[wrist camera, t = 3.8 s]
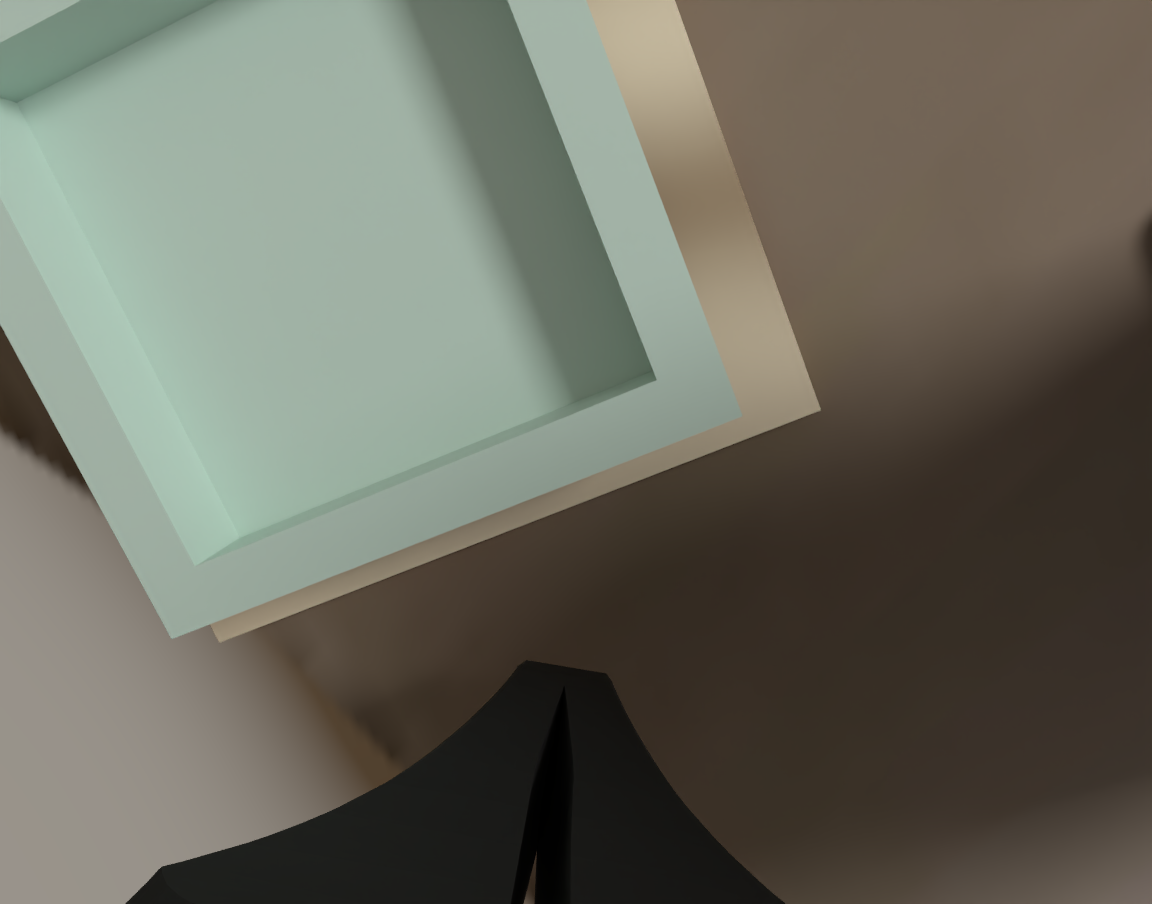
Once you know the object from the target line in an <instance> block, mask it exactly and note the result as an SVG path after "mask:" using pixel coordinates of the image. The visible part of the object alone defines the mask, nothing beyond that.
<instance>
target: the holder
mask: <svg viewBox="0 0 1152 904" xmlns="http://www.w3.org/2000/svg"><path fill="white" fill-rule="evenodd" d="M0 325H1V327H2V329H3V330H4V332H5V334H6V336H7V338H8V340H9V341H10V343H11V345H12V347H13V349H14V351H15V352H16V354H17V356H18V358H19V360H20V362H21V363H22V365H23V367H24V369H25V371H26V373H27V374H28V376H29V378H30V380H31V382H32V384H33V386H34V387H35V389H36V391H37V393H38V395H39V397H40V398H41V400H42V402H43V404H44V406H45V408H46V409H47V411H48V413H49V415H50V417H51V419H52V420H53V422H54V424H55V426H56V428H57V430H58V431H59V433H60V435H61V437H62V439H63V441H64V443H65V444H66V446H67V448H68V450H69V452H70V454H71V455H72V457H73V459H74V461H75V463H76V465H77V466H78V468H79V470H80V472H81V474H82V476H83V477H84V479H85V481H86V483H87V485H88V487H89V488H90V490H91V492H92V494H93V496H94V498H95V500H96V501H97V503H98V505H99V507H100V509H101V511H102V512H103V514H104V516H105V518H106V520H107V522H108V523H109V525H110V527H111V529H112V531H113V533H114V534H115V536H116V538H117V540H118V542H119V544H120V545H121V547H122V549H123V551H124V553H125V555H126V556H127V558H128V560H129V562H130V564H131V566H132V567H133V569H134V571H135V573H136V575H137V577H138V578H139V580H140V582H141V584H142V586H143V588H144V590H145V591H146V593H147V595H148V597H149V599H150V601H151V602H152V604H153V606H154V608H155V610H156V612H157V613H158V615H159V617H160V619H161V621H162V623H163V625H164V626H165V628H166V630H167V632H168V634H169V635H170V637H171V639H174V638H176V637H179V636H181V635H184V634H186V633H189V632H192V631H194V630H197V629H199V628H201V627H204V626H207V625H210V624H212V623H215V622H217V621H220V620H222V619H225V618H228V617H230V616H233V615H235V614H238V613H240V612H243V611H245V610H248V609H251V608H253V607H256V606H258V605H261V604H263V603H266V602H268V601H271V600H274V599H276V598H279V597H281V596H284V595H286V594H289V593H291V592H294V591H297V590H299V589H302V588H304V587H307V586H309V585H312V584H315V583H317V582H320V581H322V580H325V579H327V578H330V577H332V576H335V575H338V574H340V573H343V572H345V571H348V570H350V569H353V568H355V567H358V566H361V565H363V564H366V563H368V562H371V561H373V560H376V559H379V558H381V557H384V556H386V555H389V554H391V553H394V552H396V551H399V550H402V549H404V548H407V547H409V546H412V545H414V544H417V543H419V542H422V541H425V540H427V539H430V538H432V537H435V536H437V535H440V534H442V533H445V532H448V531H450V530H453V529H455V528H458V527H460V526H463V525H466V524H468V523H471V522H473V521H476V520H478V519H481V518H483V517H486V516H489V515H491V514H494V513H496V512H499V511H501V510H504V509H506V508H509V507H512V506H514V505H517V504H519V503H522V502H524V501H527V500H530V499H532V498H535V497H537V496H540V495H542V494H545V493H547V492H550V491H553V490H555V489H558V488H560V487H563V486H565V485H568V484H570V483H573V482H576V481H578V480H581V479H583V478H586V477H588V476H591V475H593V474H596V473H599V472H601V471H604V470H606V469H609V468H611V467H614V466H617V465H619V464H622V463H624V462H627V461H629V460H632V459H634V458H637V457H640V456H642V455H645V454H647V453H650V452H652V451H655V450H657V449H660V448H663V447H665V446H668V445H670V444H673V443H675V442H678V441H680V440H683V439H686V438H688V437H691V436H693V435H696V434H698V433H701V432H704V431H706V430H709V429H711V428H714V427H716V426H719V425H721V424H724V423H727V422H729V421H732V420H734V419H737V418H739V417H742V413H741V410H740V408H739V405H738V402H737V400H736V397H735V394H734V392H733V389H732V386H731V384H730V381H729V379H728V376H727V373H726V371H725V368H724V365H723V363H722V360H721V357H720V355H719V352H718V349H717V347H716V344H715V341H714V339H713V336H712V333H711V331H710V328H709V325H708V323H707V320H706V317H705V315H704V312H703V309H702V307H701V304H700V301H699V299H698V296H697V293H696V291H695V288H694V285H693V283H692V280H691V278H690V275H689V272H688V270H687V267H686V264H685V262H684V259H683V256H682V254H681V251H680V248H679V246H678V243H677V240H676V238H675V235H674V232H673V230H672V227H671V224H670V222H669V219H668V216H667V214H666V211H665V208H664V206H663V203H662V200H661V198H660V195H659V192H658V190H657V187H656V184H655V182H654V179H653V176H652V174H651V171H650V169H649V166H648V163H647V161H646V158H645V155H644V153H643V150H642V147H641V145H640V142H639V139H638V137H637V134H636V131H635V129H634V126H633V123H632V121H631V118H630V115H629V113H628V110H627V107H626V105H625V102H624V99H623V97H622V94H621V91H620V89H619V86H618V83H617V81H616V78H615V75H614V73H613V70H612V68H611V65H610V62H609V60H608V57H607V54H606V52H605V49H604V46H603V44H602V41H601V38H600V36H599V33H598V30H597V28H596V25H595V22H594V20H593V17H592V14H591V12H590V9H589V6H588V4H587V1H586V0H0Z"/></svg>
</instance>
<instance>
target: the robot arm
mask: <svg viewBox="0 0 1152 904" xmlns="http://www.w3.org/2000/svg"><path fill="white" fill-rule="evenodd" d="M536 852H537V861H536V884H535V904H785V903H784V902H783V901H781V900H780V899H779V898H778V897H777V896H775V895H774V894H773V893H772V892H771V891H770V890H768V889H767V888H766V887H765V886H764V885H763V884H761V883H760V882H759V881H758V880H757V879H756V878H755V877H754V876H753V875H752V874H751V873H750V872H749V871H748V870H746V869H745V868H744V867H743V866H742V865H741V864H740V863H739V862H738V861H737V860H736V859H735V858H734V857H733V856H732V855H730V854H729V853H728V852H727V850H726V849H725V848H724V847H723V846H722V845H721V844H720V843H719V842H718V841H717V840H716V839H715V838H714V837H713V836H712V835H711V834H710V833H709V832H708V830H707V829H706V828H705V827H704V826H703V825H702V824H701V822H700V821H699V820H698V819H697V818H696V817H695V816H694V814H693V813H692V812H691V811H690V810H689V809H688V808H687V806H686V805H685V804H684V803H683V801H682V800H681V799H680V798H679V796H678V795H677V794H676V792H675V791H674V790H673V788H672V787H671V785H670V784H669V783H668V781H667V780H666V778H665V777H664V775H663V774H662V773H661V771H660V770H659V768H658V766H657V765H656V763H655V762H654V760H653V759H652V757H651V755H650V754H649V752H648V750H647V749H646V747H645V745H644V744H643V742H642V740H641V739H640V737H639V735H638V734H637V732H636V730H635V728H634V727H633V725H632V723H631V721H630V719H629V717H628V715H627V713H626V711H625V709H624V707H623V705H622V703H621V701H620V699H619V697H618V695H617V692H616V690H615V688H614V685H613V683H612V681H611V680H610V678H609V677H608V675H607V674H605V673H599V672H593V671H587V670H582V669H576V668H570V667H564V666H558V665H552V664H546V663H540V662H534V661H528V660H526V661H525V662H523V663H522V664H520V665H519V666H518V667H517V668H516V670H515V671H514V673H513V674H512V675H511V677H510V678H509V679H508V680H507V681H506V683H505V684H504V685H503V686H502V687H501V688H500V689H499V690H498V692H497V693H496V694H495V695H494V696H493V697H492V698H491V699H490V700H489V701H488V702H487V703H486V704H485V705H484V706H483V707H482V708H481V709H480V710H479V711H478V712H477V713H476V714H475V715H474V716H473V717H472V718H471V719H470V720H469V721H468V722H466V723H465V724H464V725H463V726H462V727H461V728H460V729H458V730H457V731H456V732H455V733H454V734H452V735H451V736H450V737H449V738H448V739H446V740H445V741H444V742H443V743H442V744H440V745H439V746H438V747H437V748H436V749H434V750H433V751H432V752H430V753H429V754H428V755H426V756H425V757H424V758H422V759H421V760H419V761H418V762H417V763H415V764H414V765H412V766H411V767H409V768H408V769H406V770H405V771H403V772H402V773H400V774H399V775H397V776H396V777H394V778H393V779H391V780H389V781H388V782H386V783H385V784H383V785H381V786H379V787H377V788H375V789H373V790H371V791H369V792H367V793H365V794H363V795H362V796H359V797H357V798H356V799H354V800H352V801H350V802H348V803H346V804H344V805H342V806H340V807H338V808H336V809H334V810H332V811H330V812H327V813H325V814H323V815H320V816H318V817H316V818H313V819H311V820H308V821H306V822H304V823H301V824H299V825H296V826H293V827H291V828H288V829H285V830H283V831H280V832H277V833H275V834H272V835H269V836H267V837H264V838H261V839H258V840H255V841H252V842H249V843H246V844H242V845H239V846H235V847H232V848H228V849H225V850H221V851H218V852H214V853H211V854H207V855H204V856H200V857H197V858H193V859H190V860H186V861H183V862H179V863H175V864H171V865H167V866H163V867H161V868H160V869H159V870H158V871H157V872H156V873H155V874H154V875H153V877H152V878H151V879H150V880H149V881H148V882H147V883H146V884H145V885H144V886H143V887H142V888H141V889H140V890H139V891H138V892H137V893H136V894H135V895H134V896H133V897H132V898H131V899H130V900H129V901H128V902H127V903H126V904H523V903H524V899H525V895H526V891H527V888H528V884H529V880H530V876H531V872H532V868H533V864H534V860H535V856H536Z"/></svg>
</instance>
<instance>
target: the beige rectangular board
mask: <svg viewBox="0 0 1152 904" xmlns="http://www.w3.org/2000/svg"><path fill="white" fill-rule="evenodd" d="M586 1H587V4H588V6H589V9H590V12H591V14H592V17H593V20H594V22H595V25H596V28H597V30H598V33H599V36H600V38H601V41H602V44H603V46H604V49H605V52H606V54H607V57H608V60H609V62H610V65H611V68H612V70H613V73H614V75H615V78H616V81H617V83H618V86H619V89H620V91H621V94H622V97H623V99H624V102H625V105H626V107H627V110H628V113H629V115H630V118H631V121H632V123H633V126H634V129H635V131H636V134H637V137H638V139H639V142H640V145H641V147H642V150H643V153H644V155H645V158H646V161H647V163H648V166H649V169H650V171H651V174H652V176H653V179H654V182H655V184H656V187H657V190H658V192H659V195H660V198H661V200H662V203H663V206H664V208H665V211H666V214H667V216H668V219H669V222H670V224H671V227H672V230H673V232H674V235H675V238H676V240H677V243H678V246H679V248H680V251H681V254H682V256H683V259H684V262H685V264H686V267H687V270H688V272H689V275H690V278H691V280H692V283H693V285H694V288H695V291H696V293H697V296H698V299H699V301H700V304H701V307H702V309H703V312H704V315H705V317H706V320H707V323H708V325H709V328H710V331H711V333H712V336H713V339H714V341H715V344H716V347H717V349H718V352H719V355H720V357H721V360H722V363H723V365H724V368H725V371H726V373H727V376H728V379H729V381H730V384H731V386H732V389H733V392H734V394H735V397H736V400H737V402H738V405H739V408H740V410H741V413H742V417H739V418H737V419H734V420H732V421H729V422H727V423H724V424H721V425H719V426H716V427H714V428H711V429H709V430H706V431H704V432H701V433H698V434H696V435H693V436H691V437H688V438H686V439H683V440H680V441H678V442H675V443H673V444H670V445H668V446H665V447H663V448H660V449H657V450H655V451H652V452H650V453H647V454H645V455H642V456H640V457H637V458H634V459H632V460H629V461H627V462H624V463H622V464H619V465H617V466H614V467H611V468H609V469H606V470H604V471H601V472H599V473H596V474H593V475H591V476H588V477H586V478H583V479H581V480H578V481H576V482H573V483H570V484H568V485H565V486H563V487H560V488H558V489H555V490H553V491H550V492H547V493H545V494H542V495H540V496H537V497H535V498H532V499H530V500H527V501H524V502H522V503H519V504H517V505H514V506H512V507H509V508H506V509H504V510H501V511H499V512H496V513H494V514H491V515H489V516H486V517H483V518H481V519H478V520H476V521H473V522H471V523H468V524H466V525H463V526H460V527H458V528H455V529H453V530H450V531H448V532H445V533H442V534H440V535H437V536H435V537H432V538H430V539H427V540H425V541H422V542H419V543H417V544H414V545H412V546H409V547H407V548H404V549H402V550H399V551H396V552H394V553H391V554H389V555H386V556H384V557H381V558H379V559H376V560H373V561H371V562H368V563H366V564H363V565H361V566H358V567H355V568H353V569H350V570H348V571H345V572H343V573H340V574H338V575H335V576H332V577H330V578H327V579H325V580H322V581H320V582H317V583H315V584H312V585H309V586H307V587H304V588H302V589H299V590H297V591H294V592H291V593H289V594H286V595H284V596H281V597H279V598H276V599H274V600H271V601H268V602H266V603H263V604H261V605H258V606H256V607H253V608H251V609H248V610H245V611H243V612H240V613H238V614H235V615H233V616H230V617H228V618H225V619H222V620H220V621H217V622H215V623H212V624H210V626H211V628H212V630H213V632H214V634H215V636H216V638H217V639H218V641H219V642H223V641H225V640H228V639H230V638H233V637H235V636H238V635H241V634H243V633H246V632H249V631H251V630H254V629H256V628H259V627H261V626H264V625H267V624H269V623H272V622H274V621H277V620H280V619H282V618H285V617H287V616H290V615H293V614H295V613H298V612H300V611H303V610H305V609H308V608H311V607H313V606H316V605H318V604H321V603H324V602H326V601H329V600H331V599H334V598H336V597H339V596H342V595H344V594H347V593H349V592H352V591H355V590H357V589H360V588H362V587H365V586H368V585H370V584H373V583H375V582H378V581H380V580H383V579H386V578H388V577H391V576H393V575H396V574H399V573H401V572H404V571H406V570H409V569H412V568H414V567H417V566H419V565H422V564H424V563H427V562H430V561H432V560H435V559H437V558H440V557H443V556H445V555H448V554H450V553H453V552H456V551H458V550H461V549H463V548H466V547H468V546H471V545H474V544H476V543H479V542H481V541H484V540H487V539H489V538H492V537H494V536H497V535H499V534H502V533H505V532H507V531H510V530H512V529H515V528H518V527H520V526H523V525H525V524H528V523H531V522H533V521H536V520H538V519H541V518H543V517H546V516H549V515H551V514H554V513H556V512H559V511H562V510H564V509H567V508H569V507H572V506H575V505H577V504H580V503H582V502H585V501H587V500H590V499H593V498H595V497H598V496H600V495H603V494H606V493H608V492H611V491H613V490H616V489H619V488H621V487H624V486H626V485H629V484H631V483H634V482H637V481H639V480H642V479H644V478H647V477H650V476H652V475H655V474H657V473H660V472H662V471H665V470H668V469H670V468H673V467H675V466H678V465H681V464H683V463H686V462H688V461H691V460H694V459H696V458H699V457H701V456H704V455H706V454H709V453H712V452H714V451H717V450H719V449H722V448H725V447H727V446H730V445H732V444H735V443H738V442H740V441H743V440H745V439H748V438H750V437H753V436H756V435H758V434H761V433H763V432H766V431H769V430H771V429H774V428H776V427H779V426H781V425H784V424H787V423H789V422H792V421H794V420H797V419H800V418H802V417H805V416H807V415H810V414H813V413H815V412H818V411H820V410H821V409H820V406H819V403H818V401H817V398H816V395H815V392H814V389H813V387H812V384H811V381H810V378H809V375H808V373H807V370H806V367H805V364H804V361H803V359H802V356H801V353H800V350H799V347H798V345H797V342H796V339H795V336H794V333H793V331H792V328H791V325H790V322H789V319H788V317H787V314H786V311H785V308H784V305H783V303H782V300H781V297H780V294H779V291H778V289H777V286H776V283H775V280H774V277H773V274H772V272H771V269H770V266H769V263H768V260H767V258H766V255H765V252H764V249H763V246H762V244H761V241H760V238H759V235H758V232H757V230H756V227H755V224H754V221H753V218H752V216H751V213H750V210H749V207H748V204H747V202H746V199H745V196H744V193H743V190H742V188H741V185H740V182H739V179H738V176H737V174H736V171H735V168H734V165H733V162H732V160H731V157H730V154H729V151H728V148H727V146H726V143H725V140H724V137H723V134H722V132H721V129H720V126H719V123H718V120H717V118H716V115H715V112H714V109H713V106H712V104H711V101H710V98H709V95H708V92H707V89H706V87H705V84H704V81H703V78H702V75H701V73H700V70H699V67H698V64H697V61H696V59H695V56H694V53H693V50H692V47H691V45H690V42H689V39H688V36H687V33H686V31H685V28H684V25H683V22H682V19H681V17H680V14H679V11H678V8H677V5H676V3H675V0H586Z"/></svg>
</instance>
